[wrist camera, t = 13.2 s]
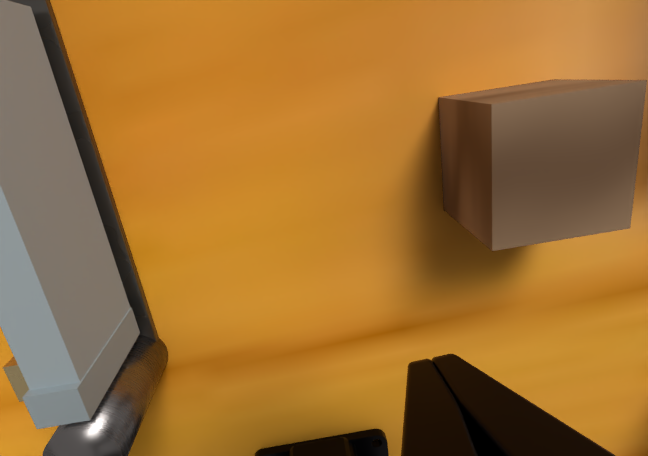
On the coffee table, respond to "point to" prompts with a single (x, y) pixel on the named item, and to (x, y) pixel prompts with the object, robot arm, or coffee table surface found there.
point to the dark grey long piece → (148, 350)
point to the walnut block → (541, 159)
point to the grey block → (52, 243)
